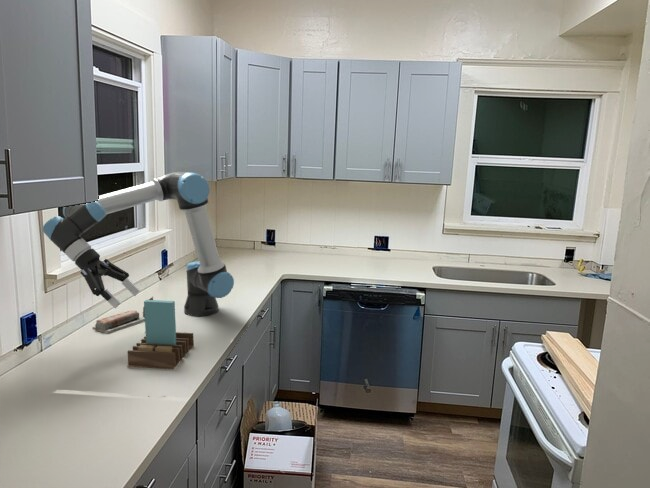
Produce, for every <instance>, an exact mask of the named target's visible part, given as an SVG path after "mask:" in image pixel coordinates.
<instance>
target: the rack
mask: <svg viewBox="0 0 650 488" xmlns="http://www.w3.org/2000/svg"><path fill="white" fill-rule="evenodd" d="M194 343H195V342H194V333H193V332H179V331H178V332H177V331H176V345H170V344H151V343H146V335H145V336H143V338H141V339H140V342H136V345H133V346H132V349H131V350H130V349H128V350H127V363H128V364H127V366H126V367H127V368H138V369H139V368H140V369H141V368H143V369H157V370H159V369H160V370H162V369H163V370H174V369H175V368H176V367H177V366H178V365H179V364H180V363H181V361H182V360H184V358H185V357H186V355H187V354H188V353H190V351H191V350H192V348H194V346H195V345H194ZM140 345H152V346H155V348H156V347H157V346H171V347H172V352H155V351H138V347H139V346H140Z"/></svg>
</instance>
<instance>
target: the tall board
mask: <svg viewBox="0 0 650 488" xmlns="http://www.w3.org/2000/svg"><path fill="white" fill-rule="evenodd" d="M143 307H144V313H145V316H144V318H145V321H144V326H145V327H144V328H145V330H144V332H145V331H146V334H145V336H146V343H151V344H170V345H176V332H177V327H176V323H177V322H176V308H175V307H176V306H175V300H159V299H153V300H149V299H145V300H144V301H143Z"/></svg>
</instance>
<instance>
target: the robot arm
mask: <svg viewBox="0 0 650 488" xmlns="http://www.w3.org/2000/svg"><path fill="white" fill-rule="evenodd" d="M209 195H210V184H209V183H208V181H207V179H206V178H205V177H204V176H203V175H201V174H199V173H196V172H194V171H193V172H191V171H187V172H186V171H180V170H179V171H174V172H170V173H166V174H163V175H161V176H158V177H154V178H151V180H150V182H145V183H142V184H139V185H134V186H130V187H127V188H123V189H119V190H116V191H112V192H107V193H104V194H100V195H98V196H99V199H98V201H95V202H91V203H86V204H80V205H75V206H69V207H64V206H63V207H62V214H63V216H64V217H61V216H59V215H56V216H54V217H52V218H50V219H49V220H47V221H46V222H45V223H44V224H43V226H42V232H43V234H44V235H45V236H46V237H47V238H48V239H49V240H50V241H51V242H53V244H54V245H55V246H56V247H57V248H58V249H59V250H61V252H63V253H64V254H65V255H66V256H67V258H69V259H70V260H71V261H72V262H74V264H75V265H76V266H77V267H78V268H79V269H80V274H81V276H82V277H83V278H84V280H85V282H86V283H87V285H88V287H89V289H90V292H91V293H92V295H94V296H97V297H99V296H101V297H102V298H103V299H105V301H107V303H109V305H111V306H112V307H113V309H117V308H118V307H119V306H120V305H121V304H122V302H121V301H120V299H119V298H117V297H116V296H115V295H114V294H113V293H112V292H111V290H109V289H108V288H106V287H105V285H104V282H103V278H102V277H106V276H107V277H110V278H112V279H114V280H117V281H119V282H121V285H122V286H123V287H125V289H127V290H128V291H129V292H130V294H131V295H133V297H136V296H137V295H138V294H139V293H140V292H141V290H140V289H139V287H137V286H136V285H135V283H133V282H132V281H131V280H130V279H129V277H130V274H129V272H127V271H125V270H124V269H122V268H120V267H119V266H117V265H115V264H114V263H112V262H111V261H110V260H109V259H107V258H105V259H104V260H103V261H102V260H101V259H100V258H101V255H100V254H99V253H98V252H97V251H96V250H95V249H94V248H92V246H91V244H89V243H88V242H87V241H86V240H85V239H84V238H83V237H82V236H81V235H83V234H84V233H86V232H87V231H89V230H90V229H91V228H93V227H94V226H96V225H97V224H98V223H99V222H101V221H102V220H103V219H104V218H106V216H107V215H108V214H112V213H116V212H119V211H123V210H127V209H130V208H132V207H136V206H140V205H144V204H148V203H151V202H154V201H159V202H163V201H166V200H168V201H170V200H176V201H177V204H178V208H179V210H180V211H182V212H183V213H184V215H185V217H186V221H187V225H188V229H189V232H190V235H191V236H190V237H191V239H192V243H193V245H194V249H195V253H196V256H197V259H198V261H192V262H188V263H187V264H186V287H187V296H186V299H185V303H184V308H183V311H184V314H186V315H188V316H191V317H206V316H210V315H214V314H215V313H218V312H219V303H218V301H217V299H223V298H224V297H227V296H228V295H229V294H230V293H231V291H232V290H233V289H234V284H235V279H234V277H233V275H232V274H231V273H230V272H228V270H227V267H226V263H225V261H223V260H221V259H220V255H219V251H218V247H217V244H216V241H215V240H216V239H215V236H214V233H213V229H212V225H211V221H210V217H209V215H208V211H207V206H208V204H209V199H208V197H209Z"/></svg>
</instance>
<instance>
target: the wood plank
mask: <svg viewBox="0 0 650 488" xmlns="http://www.w3.org/2000/svg"><path fill="white" fill-rule="evenodd" d="M148 300H154V296H152V297H150V298H149V299H148ZM142 310H143V311H142V314H143V315H142V316H143V317H142V318H145V313H144V306H143V308H142Z"/></svg>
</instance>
